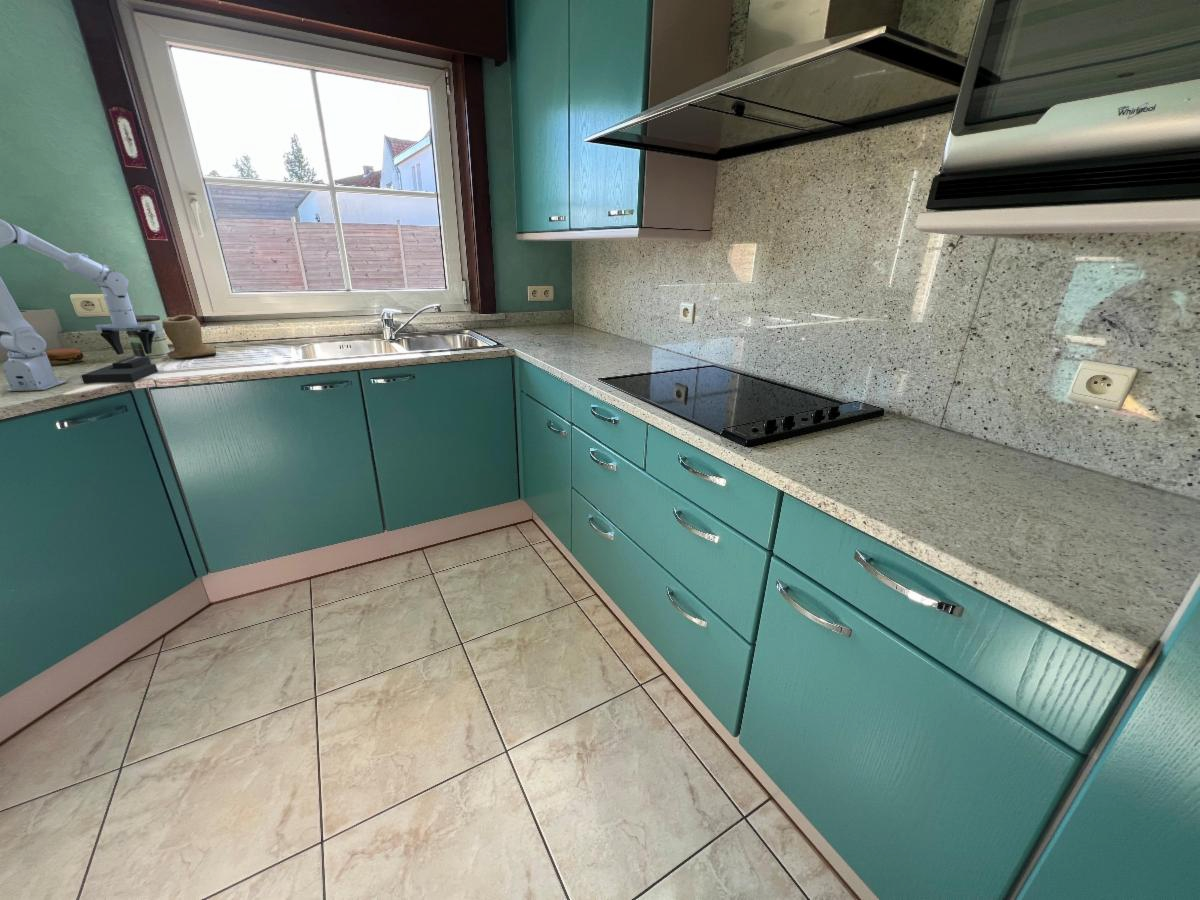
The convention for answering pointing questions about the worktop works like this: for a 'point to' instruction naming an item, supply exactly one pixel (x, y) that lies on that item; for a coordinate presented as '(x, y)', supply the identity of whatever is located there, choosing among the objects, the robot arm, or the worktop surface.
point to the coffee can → (158, 340)
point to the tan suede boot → (186, 337)
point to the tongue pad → (131, 362)
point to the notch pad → (119, 374)
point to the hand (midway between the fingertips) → (134, 353)
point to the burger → (64, 356)
